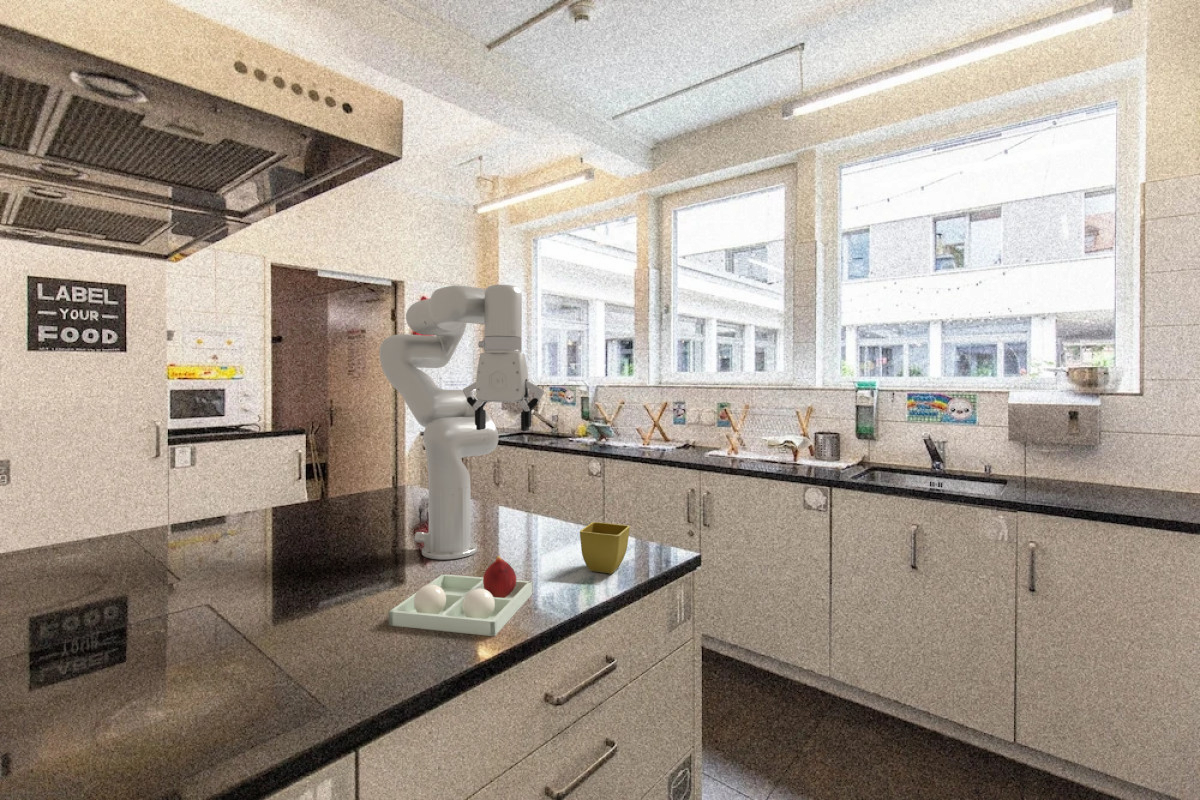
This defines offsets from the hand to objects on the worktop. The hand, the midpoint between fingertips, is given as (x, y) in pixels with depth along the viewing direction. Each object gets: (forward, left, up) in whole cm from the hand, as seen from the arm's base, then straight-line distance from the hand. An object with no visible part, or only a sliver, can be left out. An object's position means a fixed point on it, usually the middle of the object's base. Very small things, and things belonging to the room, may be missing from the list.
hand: (502, 429), depth 117 cm
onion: (+6, -15, -29) cm, 34 cm away
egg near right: (+5, -24, -29) cm, 38 cm away
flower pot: (+20, +8, -31) cm, 37 cm away
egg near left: (-3, -24, -29) cm, 38 cm away
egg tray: (+1, -20, -30) cm, 36 cm away
